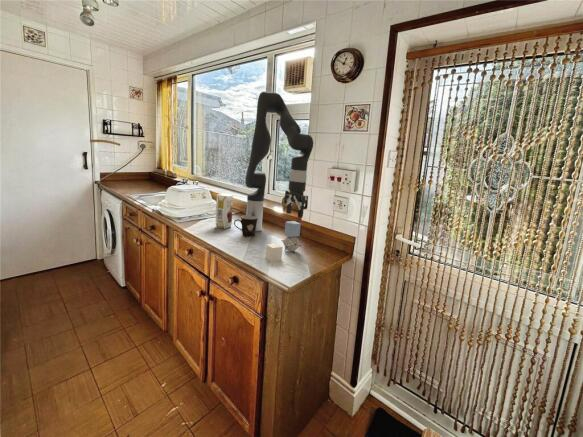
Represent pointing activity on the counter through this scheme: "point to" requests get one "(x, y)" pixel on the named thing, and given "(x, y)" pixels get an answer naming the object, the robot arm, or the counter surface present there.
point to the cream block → (273, 252)
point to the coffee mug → (248, 225)
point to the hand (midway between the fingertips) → (294, 215)
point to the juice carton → (224, 210)
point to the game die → (291, 243)
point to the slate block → (292, 228)
